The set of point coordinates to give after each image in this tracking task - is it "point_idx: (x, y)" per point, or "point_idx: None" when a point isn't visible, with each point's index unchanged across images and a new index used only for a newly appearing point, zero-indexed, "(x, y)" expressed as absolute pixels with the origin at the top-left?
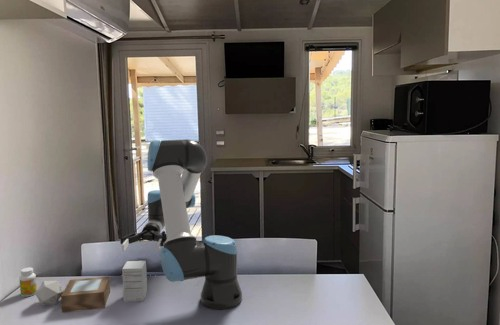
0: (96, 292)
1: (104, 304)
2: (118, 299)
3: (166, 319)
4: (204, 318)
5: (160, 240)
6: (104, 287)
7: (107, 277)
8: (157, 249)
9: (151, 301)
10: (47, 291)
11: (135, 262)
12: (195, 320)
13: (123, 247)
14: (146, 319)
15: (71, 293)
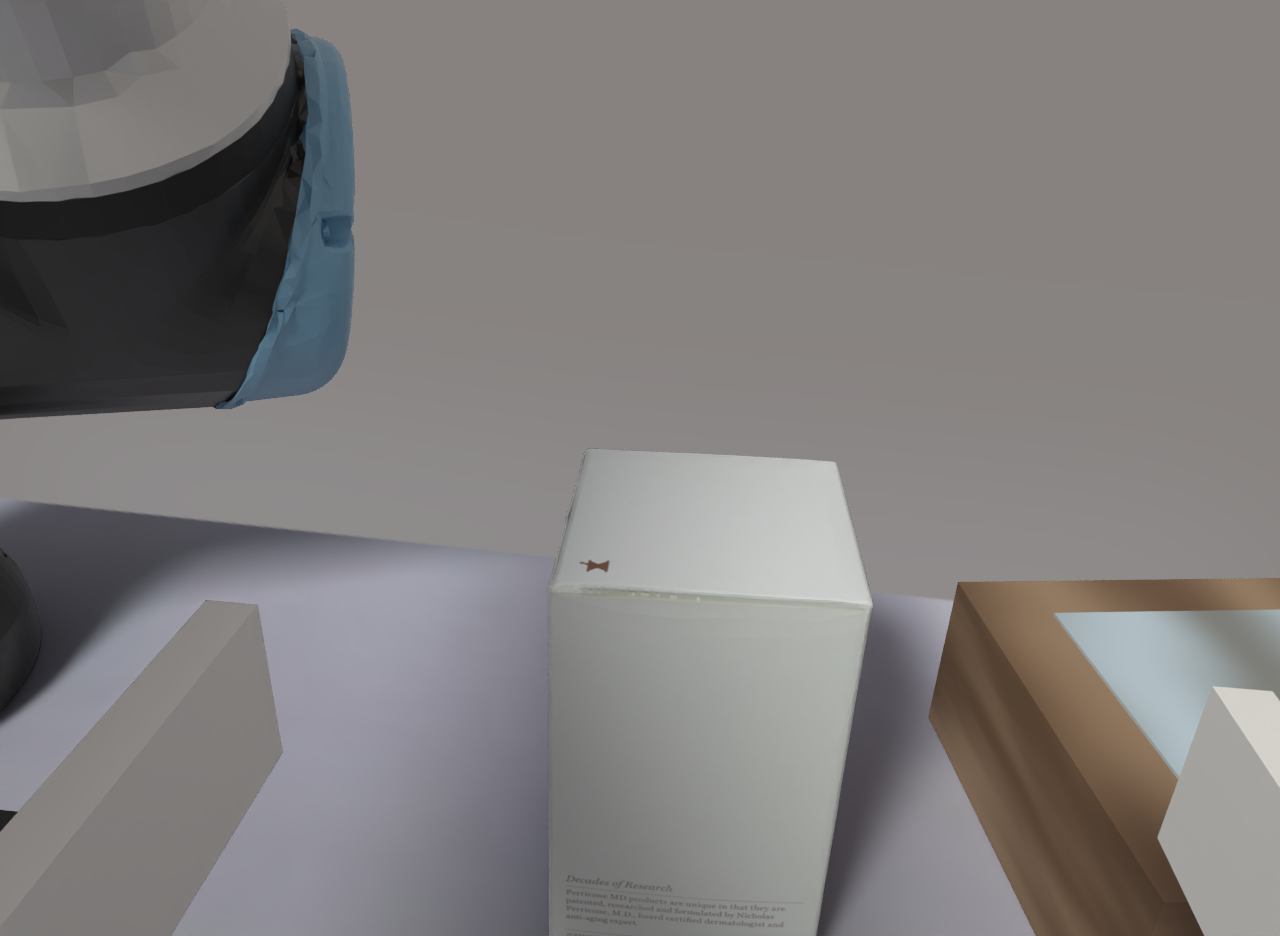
0: (1029, 583)
1: (936, 688)
2: (867, 839)
3: (397, 548)
4: (137, 527)
5: (3, 840)
6: (1011, 646)
7: (1169, 873)
8: (263, 719)
9: (498, 755)
10: None
11: (709, 551)
12: (207, 520)
13: (1203, 758)
14: (537, 563)
15: (1276, 596)
